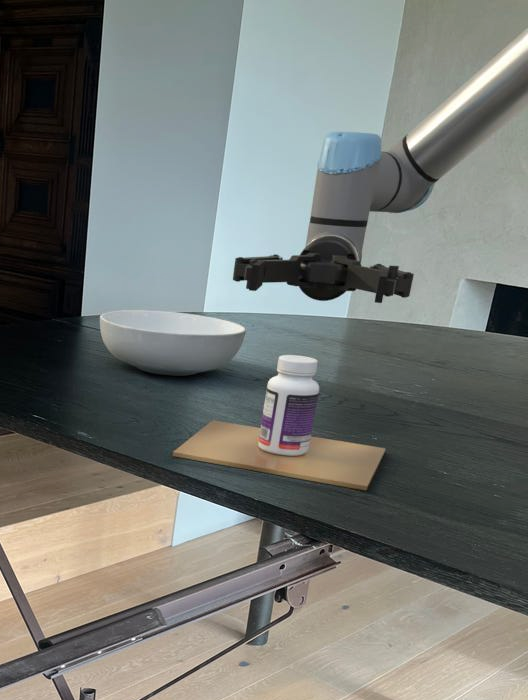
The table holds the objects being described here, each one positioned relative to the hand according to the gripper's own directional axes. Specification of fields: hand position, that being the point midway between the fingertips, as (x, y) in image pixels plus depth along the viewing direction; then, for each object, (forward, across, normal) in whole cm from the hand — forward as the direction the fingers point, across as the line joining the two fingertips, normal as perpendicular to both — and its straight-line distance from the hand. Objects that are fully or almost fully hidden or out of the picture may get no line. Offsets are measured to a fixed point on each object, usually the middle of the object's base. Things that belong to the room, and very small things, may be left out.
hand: (316, 283), depth 108 cm
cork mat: (+10, 0, -17) cm, 19 cm away
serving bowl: (-28, +20, -16) cm, 38 cm away
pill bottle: (+10, 0, -16) cm, 19 cm away
